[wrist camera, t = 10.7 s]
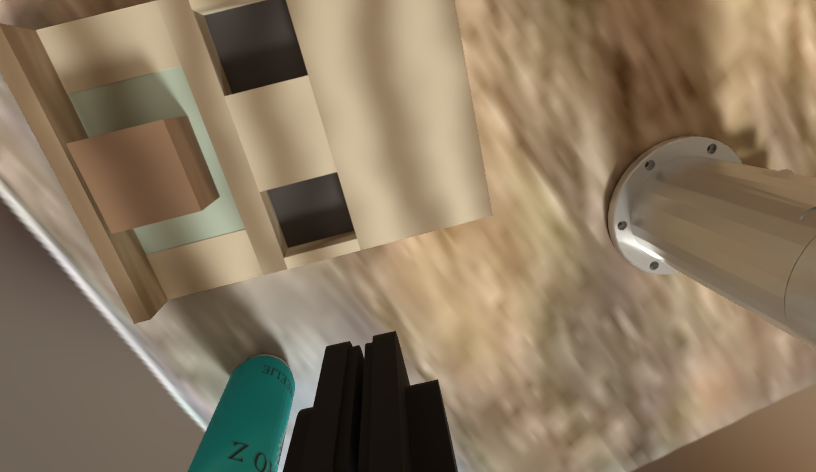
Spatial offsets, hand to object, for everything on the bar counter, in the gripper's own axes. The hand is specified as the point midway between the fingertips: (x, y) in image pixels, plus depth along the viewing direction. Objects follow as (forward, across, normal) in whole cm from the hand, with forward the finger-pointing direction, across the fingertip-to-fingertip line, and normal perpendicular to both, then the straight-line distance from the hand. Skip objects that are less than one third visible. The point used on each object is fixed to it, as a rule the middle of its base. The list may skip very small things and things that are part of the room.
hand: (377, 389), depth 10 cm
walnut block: (+23, +15, -5) cm, 28 cm away
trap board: (+26, +6, -5) cm, 27 cm away
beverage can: (+26, +14, +16) cm, 34 cm away
